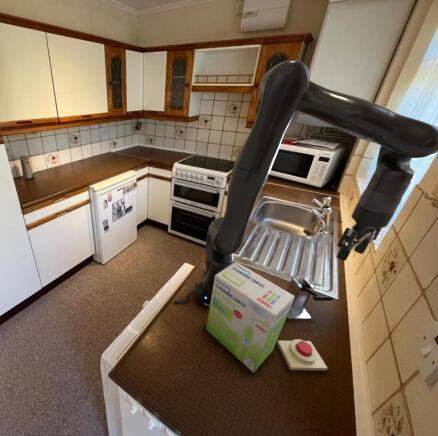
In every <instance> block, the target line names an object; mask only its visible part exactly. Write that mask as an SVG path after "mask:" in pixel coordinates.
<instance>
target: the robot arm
mask: <svg viewBox="0 0 438 436" xmlns="http://www.w3.org/2000/svg"><path fill="white" fill-rule="evenodd" d="M258 93H259V97H260V102H259V106H258V110H257V113H256V116H255V120H254V123H253V125H252V128H251V130H250V132H249V134H248V136H247V137H246V139H245V141H244V142H243V144H242V146H241V148H240V150H239V151H238V154H237V156H236V159H235V161H234V164H233V167H232V169H231V171H230V176H229V180H228V184H227V191H226V192H227V193H226V203H225V205H226V206H225V211H224V214H223V216H220V217H217V218H215V219H214V220H212V221H211V222H210V224H209V226H208V229H207V233H206V242H205V251H204V252H205V258H204V263H203V264H204V265H203V269H202V273H201V274H200V278H199V283H194V288H193V290H192V291H190V292H189V293H188V294H187V295H186V298H185V300H175V301H174V304H181V305H182V304H186V303H187V302H189V299H190V296H191V295H193V294H194V295H195V298H196V300H199V303H200V305H201V306H205V307H207V308H209V309H210V303H211V297H212V291H213V285H214V279H215V275H216V274H218V273H219V272H221V271H222V270H224V269H225V268H227V267H228V266H230V265H231V264H233V263H234V262H235V256H234V254H235V253H236V252H238V251H239V249H240V248H241V247H242V245H243V242H244V239H245V236H246V232H247V229H248V226H249V222H250V219H251V216H252V214H253V212H254V209H255V207H256V205H257V202H258V200H259V198H260V196H261V193H262V191H263V188H264V186H265V184H266V182H267V180H268V178H269V175H270V173H271V170H272V169H273V165H274V163H275V160H276V157H277V155H278V152H279V150H280V147H281V143H282V140H283V138H284V135H285V133H286V131H287V129H288V127H289V125H290V123H291V120H292V119H293V117H294V116H295V114H296V112H299V113H302V114H305V115H307V116H309V117H312V118H315V119H317V120H319V121H320V122H323V123H325V124H327V125H330V126H332V127H333V128H336V129H338V130H340V131H341V132H344V133H346V134H349V135H351V136H353V137H356V138H358V139H361V140H363V141H367V142H370V143H374V144H377V145H379V146H380V147H379V151H378V154H377V159H376V167H375V171H374V172H373V174H372V176H371V178H370V180H369V182H368V184H367V186H366V187H365V189H364V190H363V192H362V194H361V195H360V197H359V200H358V202H357V203H356V205H355V207H354V209H353V212H352V214H351V218H352V220H354V222H355V224H354V225H352V226H351V227H346V228H345V230H344V232H343V233H342V235H341V237H340V239H339V241H338V242H337V244H336V246H337V247H339V251H338V253H337V254H336V259H338V260H340V261H342V262H345V261H346V262H347V260H348V258H349V256H350V254H351V252H352V251H354V252H356V253H358V254H360V255H363V254H364V253H365V252H366V250H367V249H368V246H369V245H370V244H371V243H373V241H376V240H377V238H378V237H379V234H380V233H381V231H382V229H384V228H386V227H387V226H388V225H389V224H390V222H391V220H392V218H393V217H394V215H395V213H397V210H398V208H399V206H400V205H401V203H402V201H403V197H404V195H405V193H406V192H407V190H408V188H409V187H410V185H411V183H412V181H413V180H414V178H415V175H416V174H415V171H414V169H413V168H412V167H411V161H412V160H419V159H425V158H428V157H430V156H431V157H432V156H433V155H435V154H436V153H438V126H436V125H434V124H431V123H428V122H425V121H422V120H418V119H415V118H412V117H409V116H405V115H402V114H399V113H397V112H395V111H393V110H391V109H389V108H387V107H385V106H383V105H380V104H377V103H375V102H373V101H370V100H367V99H364V98H361V97H357V96H354V95H351V94H347V93H343V92H339V91H336V90H334V89H333V90H332V89H329V88H327V87H324V86H322V85H319V84H318V83H315V82H313V81H312V80H311V73H310V70H309V67H308V66H307V65H306V64H305V63H304V62H303V61H301V60H298V59H288V60H284V61H282V62H279V63H278V64H276V65H275V66H273V67H271V68H270V69H268V70H267V71H266V72H265V73H264V75H263V76H262V78H261V80H260V81H259V85H258Z"/></svg>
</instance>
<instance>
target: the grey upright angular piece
mask: <svg viewBox="0 0 438 436" xmlns="http://www.w3.org/2000/svg"><path fill="white" fill-rule="evenodd" d="M298 282H299V281H298V280H297V279H296V278H295V277H291V280H290V283H289V284H288V287H287V290H286V291H287V292H288V293H290V294H292V295H294V296H295V297H294V300H293V302H292V305H291V307H290V310H289V312H288V314H287V317H286V319H288V320H289V319H290V320H291V319H293V320H295V319H296V320H312V316H311V315H310V314H309V313H308V311H307V310H306V309H305V308H306V306H307V303H308V302H309V299H310V297H311V296H312V295H311V294H310V293H308V292H306V291H301V288H302V287H301V285H300V284H299V283H298ZM301 282H303V283H305V284H307V288H309V289H311V290H313V291H314V289H315V286H314V285H313V284H312V283H311V281H310V280H309V279H308V278H307V277H304V278H302V281H301Z"/></svg>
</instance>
